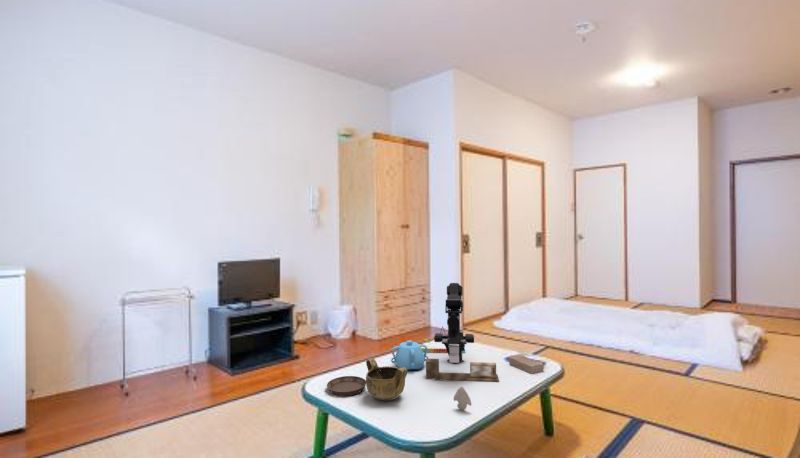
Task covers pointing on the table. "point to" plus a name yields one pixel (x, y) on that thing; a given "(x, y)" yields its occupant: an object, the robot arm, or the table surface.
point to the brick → (526, 364)
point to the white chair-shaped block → (454, 353)
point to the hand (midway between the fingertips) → (454, 355)
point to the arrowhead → (462, 398)
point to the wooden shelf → (451, 374)
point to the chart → (436, 349)
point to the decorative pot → (409, 355)
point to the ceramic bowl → (384, 380)
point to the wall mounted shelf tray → (482, 369)
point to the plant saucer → (346, 385)
